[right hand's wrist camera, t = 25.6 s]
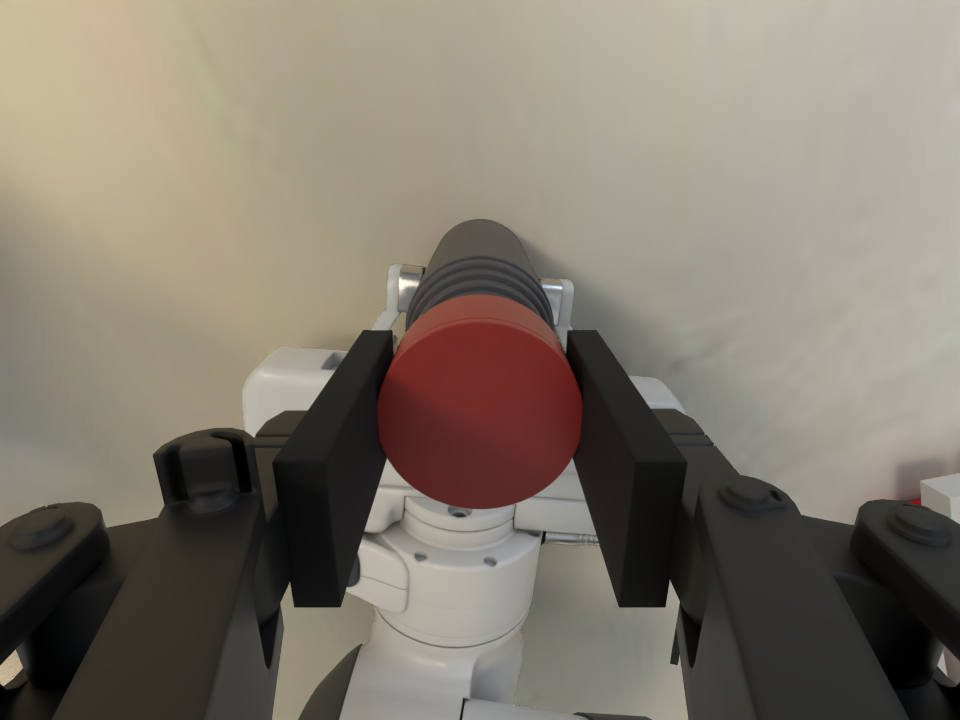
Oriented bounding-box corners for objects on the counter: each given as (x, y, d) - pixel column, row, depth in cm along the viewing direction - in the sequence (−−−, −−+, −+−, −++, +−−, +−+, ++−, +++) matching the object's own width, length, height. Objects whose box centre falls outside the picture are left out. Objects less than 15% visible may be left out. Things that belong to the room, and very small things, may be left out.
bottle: (544, 255, 30) (634, 383, 12) (490, 328, 31) (503, 532, 14) (468, 199, 29) (451, 255, 11) (416, 277, 30) (330, 430, 13)
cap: (599, 343, 14) (624, 380, 12) (514, 479, 15) (521, 538, 13) (439, 261, 13) (430, 283, 11) (365, 412, 15) (343, 461, 12)
